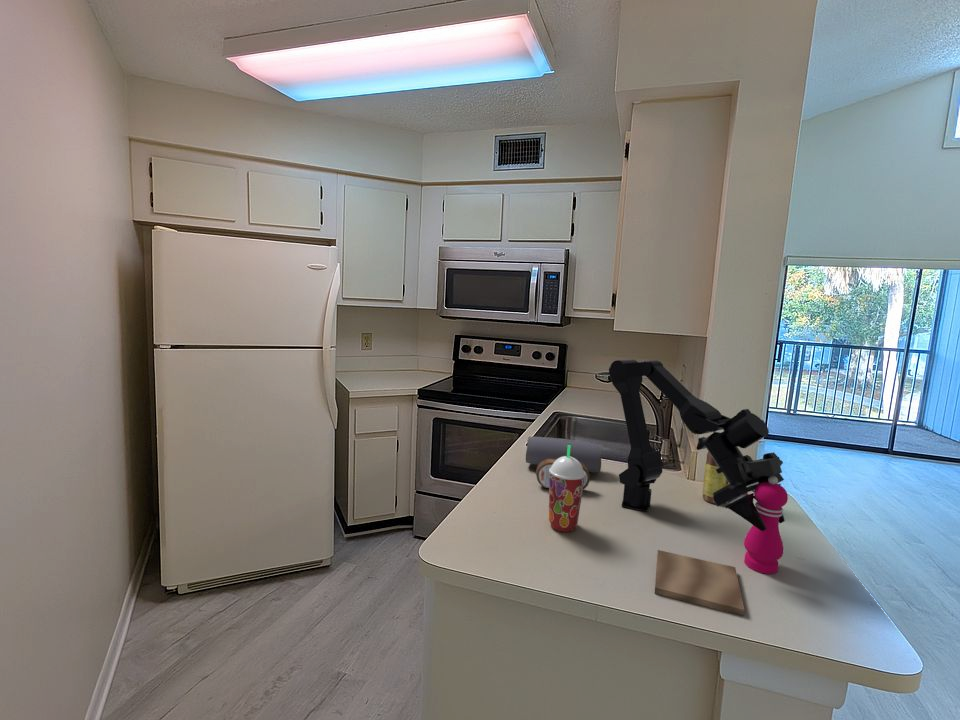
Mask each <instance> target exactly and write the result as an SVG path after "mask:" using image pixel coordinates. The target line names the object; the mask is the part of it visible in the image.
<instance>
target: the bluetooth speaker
mask: <svg viewBox="0 0 960 720" xmlns="http://www.w3.org/2000/svg"><path fill="white" fill-rule="evenodd" d="M526 444H527V445H526V451H525V463H527V464H529V465H530V464H531V465H535V466H538V465H539V464H540V463H541V462H542V461H544V460H546V459H558V458H560V457H563V456H567V449H568V445H570V446H571V447H570V456H571V457H573V458H575V459H577V460H578V461H579V462H581V463H583V464H584V465H585V466H586V467H587V468H588V470H589V473H601V470H602V453H603V444H599V443H594V442H588V441H583V440H582V441H581V440H577V439H576V440H574V439H567V438H556V437H547V436H546V437H544V436H528V437H527V443H526Z"/></svg>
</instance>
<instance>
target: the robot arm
mask: <svg viewBox="0 0 960 720" xmlns="http://www.w3.org/2000/svg"><path fill="white" fill-rule="evenodd" d="M608 373H609V377H610V380H611V383H612V386H613V387H614V388H615V390H616V391H618V393H619V395H620V400H621V405H622V410H623V415H624V420H625V426H626V429H627V430H626V431H627V435H628V439H629V441H628V442H629V444H630V448H629V449H630V450H629V453H628V456H627V469H625V470H624V471H622V472H620V473H619V474H618V478H619V483H620V484H622V485H624V486H623V494H622V502H621V507H622V508H627V509H632V510H635V511H641V512H648V508H650V507H651V500H652V491H653V490H652V489H651V487H650V486H651V484H655V483H656V481H657V479H659V478H660V477H661V475H662V473H663V468H664V466H665V465H664V464H663V461H662V460H663V459H662V453H661V451H660V450H655V449H654V448H653V447H652V445H651V442H650V439H649V438H650V436H649V432H648V427H647V422H646V418H645V413H644V408H643V403H642V398H641V394H640V393H641V392H640V389H641V386H642V384H643V383H642V382H643V377H646V378H647V379H648V380H649V381H650V382H651V383H652V384H653V385H654V387H656V388H657V389H658V390H659V391H660V392H661V393H662V395H663V396H664V397H666V398H667V399H668V401H670V402H671V403H672V404H673V406H674V407H675V408H676V409H677V410H678V412H679V416H680V419H681V421H682V422H683V424H684V425H685V427H686V428H687V430H688V431H689V432H690V433H692V434H694V435H704V434H709V433H711V434H710V435H708V436H706V437H705V436H703V437H699V438H698V439H697V441H698V442H697V444H696V450H697V451H701V450H705V449H706V450H707V452H708V451H709V453H710V454H711V456H712V458H713V459H714V461H715V462H716V464H717V465H718V467H719V468H718V469H716V471H717V473H718V474H720V473H723V475H724V476H725V478H726V479H727V481H728V483H729V485H727V486H725V487H723V488H721V489H719V490H718V491H716V492H714V493H713V498H712V499H713V500H714V502H715V505H716V507H717V508H718V507H721V506H723V505H725V506H724V508H725V509H726V510H727V509H729V510H730V511H732V512H733V513H734V514H737V515H738V516H739V517H741V518H742V519H744V520H745V521H747V522H748V523H750V524H751V526H753V525H754V526H755V527H756V528H758V529H759V530H761V531H764V530H766V526H765V524H764V522H763V520H762V518H761V517H760V515H759V513H758V511H757V509H756V507H755V506H756V505H755V503H754V500H755V502H758V501H757V500H756V498H755V496H754V491H755V488H756V486H757V485H758V484H760V483H762V482H769V481H768V478H769V477H770V476H775V477H777V479H778V482H777V484H779V485H781V482H783V481H785V478H784V477H783V476H782V475H781V474H782V473H783V471H782V468H781V466H782V465H783V464H784V463H783V460H781V459H780V456H778V455H777V454H776V453H775V452H768V453H764V454H763V455H762V458H760V459H754V460H753V458H752V457H751V456H750V455H748V454H746V455H744V454H743V453H742V451H741V450H740V449H747V448H748V447H750V446H752V445H754V444H756V443H757V442H759V441H761V440H762V439H764V438H765V437H767V436H768V435H769V433H770V432H769V428H768V425H767V424H766V422H765V421H764V420H763V419H761V418H760V416H758V415H756V414H754V413H752V412H751V410H750V408H744V409H741V410H740V411H739V412H738V413H736V415H734V416H732V417H729V416H726V415H723V414H722V413H721V412H720V411H719V410H718V409H717V408H715V407H714V406H712V405H711V404H710V403H708V402H707V401H704V400H702V399H700V398H699V397H696V396H694V394H693V393H691V392H690V391H689V390H688V389H687V387H685V386H684V385H683V384H682V383H681V382H680V381H679V380H678V379H677V378H676V377H675V376H674V375H673V374H672V373H671V372H670V371H669V370H668V369H667V368H666V367H665V366H664V364H663V363H662V361H659V360H658V359H657V360H655V359H654V360H653V359H651V360H650V359H649V360H644V361H639V362H638V361H637V360H636V359H619V360H617V359H616V360H614V361H612V363H611V364H610V366H609V367H608ZM717 430H724V431H723V432H722V433H720V434H719V433H713V432H714V431H717ZM781 486H782V485H781ZM750 492H752V493H750ZM727 503H728V504H727ZM782 514H783V512H782ZM784 522H785V517H784V514H783V515H782V516H781V517H780V518H779V524H781V523H784Z"/></svg>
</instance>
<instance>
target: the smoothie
mask: <svg viewBox="0 0 960 720" xmlns="http://www.w3.org/2000/svg"><path fill="white" fill-rule="evenodd" d="M570 447H571V446H570V445H568V449H567V456H563V457H560V458H558V459H557V460H556V461H555V462H554V463H553V464H552V466H551V468H549V489H548V521H549V523H550V527H551V528H553V529H554V530H556V531H558V532H565V533H569V532H572V531H574V530H575V528H576V526H577V525H578V523H579V522H578V521H579V517H580V510H581V503H582V497H583V492H584V491H583V490H584V489H583V484H584V477H585V472H584V471H583V468H582V465H581V464H580V462H579V461H578V460H577V459H575V458H573V457H571V456H570Z"/></svg>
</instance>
